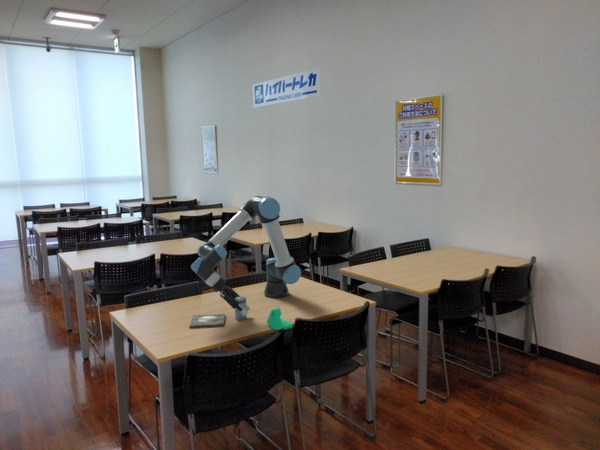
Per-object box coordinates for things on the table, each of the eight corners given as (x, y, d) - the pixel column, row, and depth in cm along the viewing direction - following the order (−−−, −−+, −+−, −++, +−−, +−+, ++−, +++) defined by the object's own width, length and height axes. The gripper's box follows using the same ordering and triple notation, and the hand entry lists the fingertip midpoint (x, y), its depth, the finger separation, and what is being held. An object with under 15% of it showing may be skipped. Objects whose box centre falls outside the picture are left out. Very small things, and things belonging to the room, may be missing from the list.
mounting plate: (193, 317, 245) (193, 315, 245) (225, 316, 246) (225, 313, 246) (189, 328, 230) (189, 325, 230) (223, 326, 232) (223, 323, 231)
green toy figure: (293, 329, 227) (292, 309, 226) (280, 332, 222) (280, 312, 221) (279, 322, 236) (278, 303, 235) (266, 325, 232) (266, 306, 230)
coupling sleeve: (235, 316, 246) (234, 296, 244) (246, 316, 246) (246, 296, 245) (234, 320, 240) (234, 300, 238) (246, 320, 240) (246, 299, 239)
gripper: (215, 282, 251) (246, 311, 252) (206, 292, 232) (239, 323, 233) (224, 272, 250) (255, 301, 251) (216, 282, 231) (249, 313, 232)
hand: (247, 312), depth 242 cm, fingers closed on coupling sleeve, 6 cm apart
